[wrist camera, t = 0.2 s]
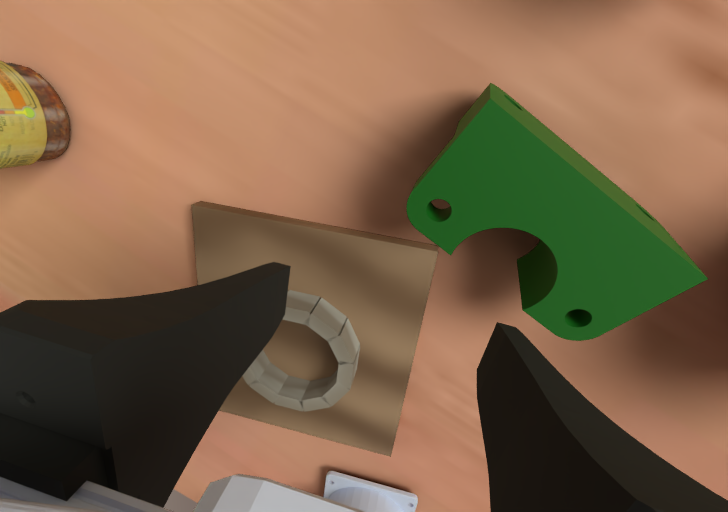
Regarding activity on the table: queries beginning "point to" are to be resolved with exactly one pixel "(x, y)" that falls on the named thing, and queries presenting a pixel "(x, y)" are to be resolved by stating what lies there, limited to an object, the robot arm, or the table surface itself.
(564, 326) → the clamp
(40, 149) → the sauce bottle
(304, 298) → the collar board
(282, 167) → the table surface
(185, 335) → the robot arm
